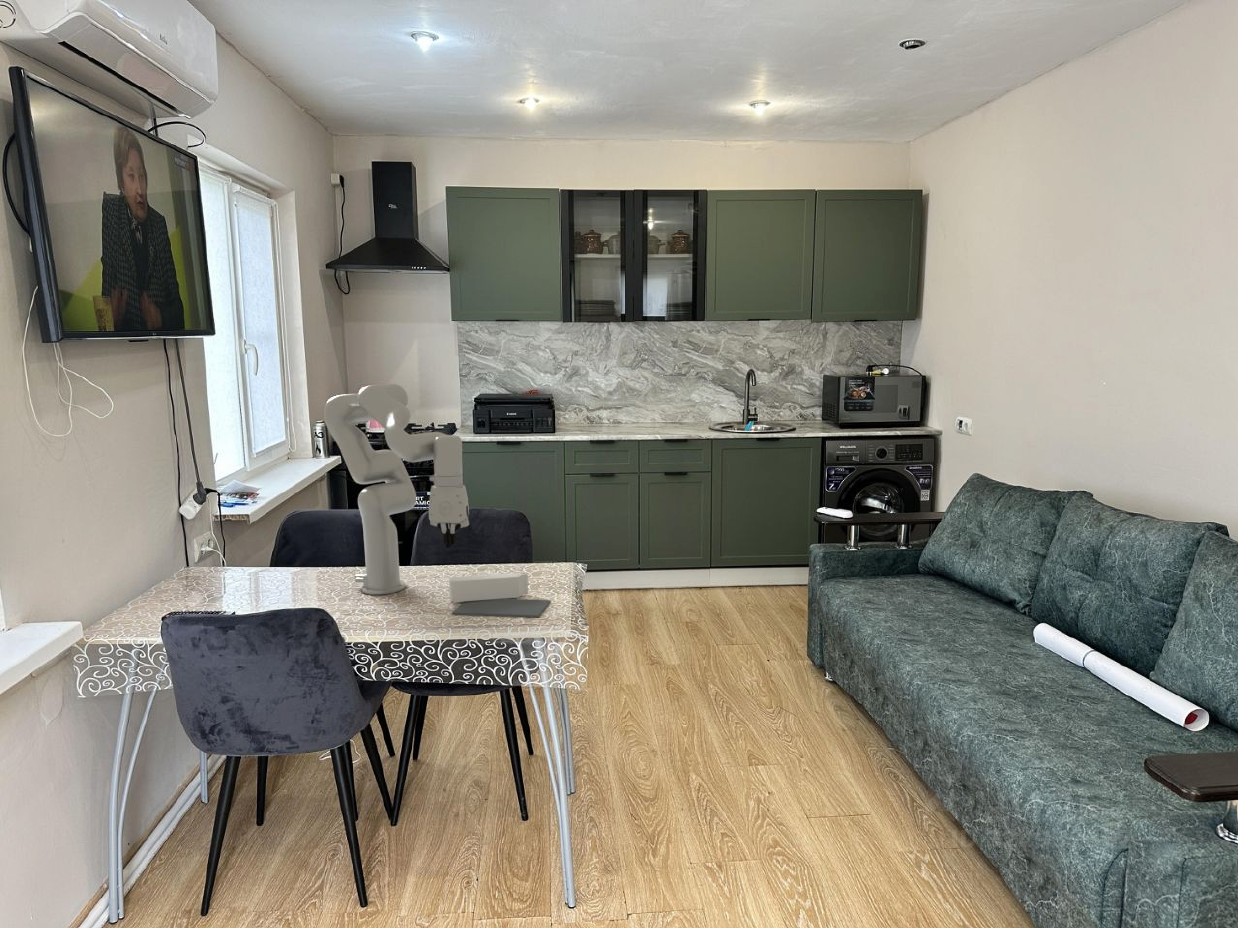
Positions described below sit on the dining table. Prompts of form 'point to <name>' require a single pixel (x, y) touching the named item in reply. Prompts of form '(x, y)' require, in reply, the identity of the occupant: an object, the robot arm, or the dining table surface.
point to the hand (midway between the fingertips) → (450, 546)
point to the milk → (488, 587)
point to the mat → (503, 608)
